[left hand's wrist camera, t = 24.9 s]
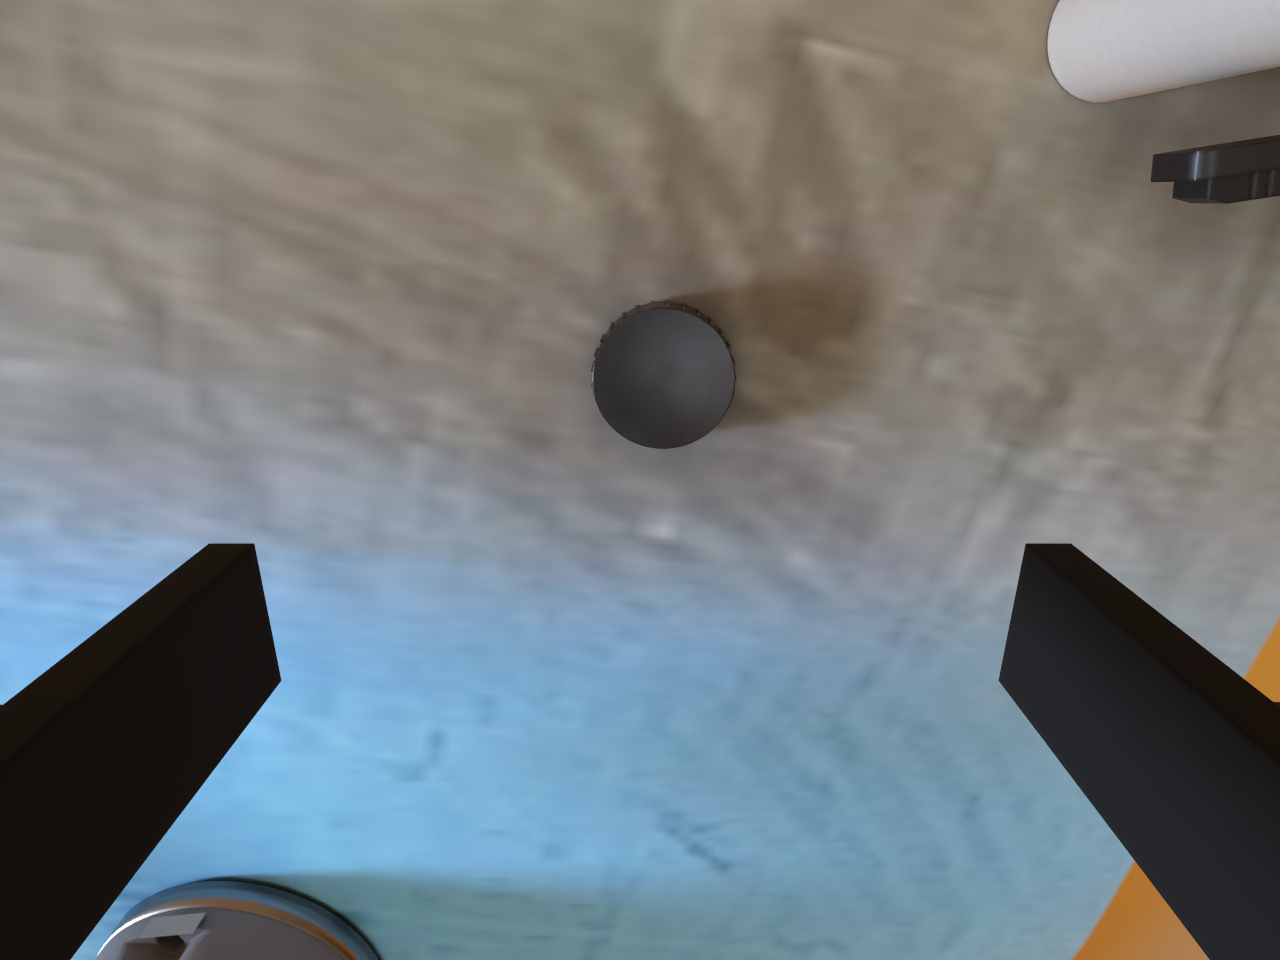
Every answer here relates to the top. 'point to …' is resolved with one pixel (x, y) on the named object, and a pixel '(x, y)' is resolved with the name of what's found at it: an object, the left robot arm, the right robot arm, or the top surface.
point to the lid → (663, 375)
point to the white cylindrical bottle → (1158, 44)
